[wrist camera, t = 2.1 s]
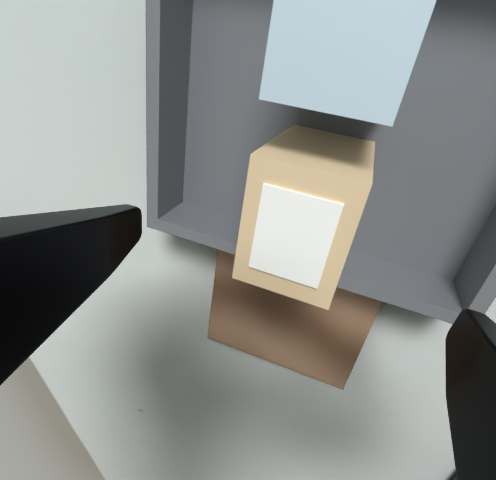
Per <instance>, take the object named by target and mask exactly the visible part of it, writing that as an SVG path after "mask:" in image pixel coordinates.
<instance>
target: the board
mask: <svg viewBox="0 0 496 480" xmlns="http://www.w3.org/2000/svg"><path fill="white" fill-rule="evenodd" d="M234 260H235V255H234V254H231V253H228V252H225V251H222V250H219V249H218V254H217V263H216V271H215V280H214V288H213V296H212V305H211V313H210V322H209V330H208V338H210V339H213V340H215V341H218V342H220V343H223V344H226V345H228V346H231V347H233V348H236V349H239V350H241V351H244V352H246V353H249V354H252V355H254V356H257V357H259V358H262V359H265V360H267V361H270V362H272V363H275V364H278V365H280V366H283V367H286V368H288V369H291V370H293V371H296V372H299V373H301V374H304V375H306V376H309V377H312V378H314V379H317V380H319V381H322V382H325V383H327V384H330V385H332V386H335V387H338V388H340V389H344V386H345V384H346V382H347V380H348V377H349V375H350V373H351V371H352V369H353V366H354V364H355V362H356V360H357V357H358V355H359V353H360V351H361V348H362V346H363V344H364V342H365V339H366V337H367V335H368V333H369V331H370V328H371V326H372V324H373V322H374V319H375V317H376V315H377V313H378V310H379V308H380V306H381V304H382V301H379V300H376V299H373V298H370V297H367V296H363V295H360V294H357V293H354V292H351V291H348V290H345V289H341V288H338V287H336V290H335V293H334V296H333V298H332V301H331V304H330V307H329V310H327V309H324V308H321V307H318V306H315V305H312V304H309V303H306V302H303V301H300V300H297V299H294V298H291V297H288V296H285V295H282V294H279V293H276V292H273V291H270V290H267V289H264V288H261V287H258V286H255V285H252V284H249V283H246V282H243V281H240V280H237V279H234V278H232V274H233V267H234Z"/></svg>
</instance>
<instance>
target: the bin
mask: <svg viewBox="0 0 496 480" xmlns="http://www.w3.org/2000/svg"><path fill="white" fill-rule="evenodd" d="M273 1H274V0H146V134H147V227H150V228H153V229H156V230H159V231H162V232H165V233H168V234H172V235H175V236H178V237H181V238H184V239H187V240H190V241H194V242H197V243H200V244H203V245H206V246H209V247H212V248H216V249H219V250H222V251H225V252H228V253H231V254H234V255H235V254H236V247H237V240H238V234H239V227H240V221H241V214H242V207H243V201H244V194H245V187H246V181H247V174H248V167H249V161H250V154H251V153H253V152H254V151H256V150H257V149H259V148H260V147H262V146H263V145H265V144H266V143H268V142H269V141H271V140H272V139H274V138H275V137H277V136H278V135H280V134H281V133H283V132H284V131H285V130H287V129H288V128H290V127H291V126H293V125H294V124H295V125H299V126H304V127H308V128H313V129H318V130H322V131H327V132H332V133H336V134H341V135H345V136H350V137H355V138H359V139H364V140H368V141H373V142H375V152H374V168H373V183H372V187H371V190H370V192H369V195H368V198H367V201H366V204H365V207H364V210H363V212H362V215H361V218H360V221H359V224H358V227H357V230H356V232H355V235H354V238H353V241H352V244H351V247H350V250H349V253H348V255H347V258H346V261H345V264H344V267H343V270H342V273H341V275H340V278H339V281H338V284H337V287H338V288H341V289H345V290H348V291H351V292H354V293H357V294H360V295H363V296H367V297H370V298H373V299H376V300H379V301H382V302H385V303H389V304H392V305H395V306H398V307H401V308H404V309H407V310H411V311H414V312H417V313H420V314H423V315H426V316H429V317H433V318H436V319H439V320H442V321H445V322H448V323H451V324H453V323H454V322H455V320H456V318H457V317H458V315H459V313H460V312H461V311H462V310H463V309H466V308H467V309H471V310H474V311H478V312H481V313H483V314H485V313H486V311H487V310H488V308H489V307H490V305H491V303H492V302H493V300H494V299H495V297H496V0H436V3H435V6H434V9H433V12H432V15H431V18H430V20H429V23H428V26H427V29H426V32H425V35H424V38H423V40H422V43H421V46H420V49H419V52H418V55H417V58H416V61H415V63H414V66H413V69H412V72H411V75H410V78H409V81H408V83H407V86H406V89H405V92H404V95H403V98H402V101H401V104H400V106H399V109H398V112H397V115H396V118H395V121H394V124H393V126H387V125H382V124H377V123H372V122H367V121H363V120H358V119H353V118H348V117H343V116H338V115H333V114H328V113H323V112H319V111H314V110H309V109H304V108H299V107H294V106H289V105H284V104H280V103H275V102H270V101H265V100H260V99H259V94H260V87H261V81H262V74H263V68H264V61H265V54H266V48H267V41H268V34H269V28H270V21H271V14H272V8H273Z"/></svg>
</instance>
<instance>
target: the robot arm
mask: <svg viewBox="0 0 496 480" xmlns="http://www.w3.org/2000/svg"><path fill="white" fill-rule="evenodd" d="M141 234H142V214H141V210H140V209H139V208H138V207H135V206H132V205H128V204H125V205H115V206H106V207H96V208H87V209H77V210H68V211H58V212H48V213H39V214H29V215H20V216H10V217H1V218H0V385H1V384H2V383H3V382H4V381H5V380H6V379H7V378H8V377H9V376H10V375H11V374H12V373H13V372H14V371H15V370H16V369H17V368H18V367H19V366H20V365H21V364H22V363H23V362H24V361H25V360H26V359H27V358H28V357H29V356H30V355H31V354H32V353H33V352H34V351H35V350H36V349H37V348H38V347H39V346H40V345H41V344H42V343H43V342H44V341H45V340H46V339H47V338H48V337H49V336H50V335H51V334H52V333H53V332H54V331H55V330H56V329H57V328H58V327H59V326H60V325H61V324H62V323H63V322H64V321H65V320H66V319H67V318H68V317H69V316H70V315H71V314H72V313H73V312H74V311H75V310H76V309H77V308H78V307H79V306H80V305H81V304H82V303H83V302H84V301H85V300H86V299H87V298H88V297H89V296H90V295H91V294H92V293H93V292H94V291H95V290H96V289H97V288H98V287H99V286H100V285H101V284H102V283H103V282H104V281H105V280H106V279H107V278H108V277H109V276H110V275H111V274H112V273H113V272H114V271H115V269H116V268H117V267H118V266H119V264H120V263H121V262H122V261H123V260H124V258H125V257H126V256H127V255H128V253H129V252H130V251H131V250H132V248H133V247H134V246H135V245H136V243H137V242H138V241H139V239H140V237H141ZM446 400H447V408H448V416H449V423H450V430H451V438H452V445H453V452H454V460H455V467H456V476H455V477H454V478H453V479H452V480H496V323H494V322H493V321H492V320H491V319H490V318H489V317H487V316H486V315H485V314H483V313H481V312H478V311H474V310H471V309H467V308H466V309H463V310H462V311H461V312H460V313H459V315H458V317H457V318H456V320H455V322H454V323H453V325H452V327H451V328H450V330H449V332H448V334H447V337H446Z"/></svg>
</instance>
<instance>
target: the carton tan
mask: <svg viewBox="0 0 496 480" xmlns="http://www.w3.org/2000/svg"><path fill="white" fill-rule="evenodd" d="M374 152H375V142H373V141H368V140H364V139H359V138H355V137H350V136H345V135H341V134H336V133H332V132H327V131H322V130H318V129H313V128H308V127H304V126H299V125H295V124H294V125H293V126H291V127H290V128H288V129H287V130H285V131H284V132H283V133H281V134H280V135H278V136H277V137H275V138H274V139H272V140H271V141H269V142H268V143H266V144H265V145H263V146H262V147H260V148H259V149H257V150H256V151H254V152H253V153H251V154H250V161H249V167H248V174H247V181H246V187H245V194H244V201H243V207H242V214H241V221H240V227H239V234H238V240H237V247H236V254H235V260H234V267H233V274H232V278H234V279H237V280H240V281H243V282H246V283H249V284H252V285H255V286H258V287H261V288H264V289H267V290H270V291H273V292H276V293H279V294H282V295H285V296H288V297H291V298H294V299H297V300H300V301H303V302H306V303H309V304H312V305H315V306H318V307H321V308H324V309H327V310H329V307H330V304H331V301H332V298H333V296H334V293H335V290H336V287H337V284H338V281H339V278H340V275H341V273H342V270H343V267H344V264H345V261H346V258H347V255H348V253H349V250H350V247H351V244H352V241H353V238H354V235H355V232H356V230H357V227H358V224H359V221H360V218H361V215H362V212H363V210H364V207H365V204H366V201H367V198H368V195H369V192H370V190H371V187H372V183H373V168H374Z"/></svg>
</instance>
